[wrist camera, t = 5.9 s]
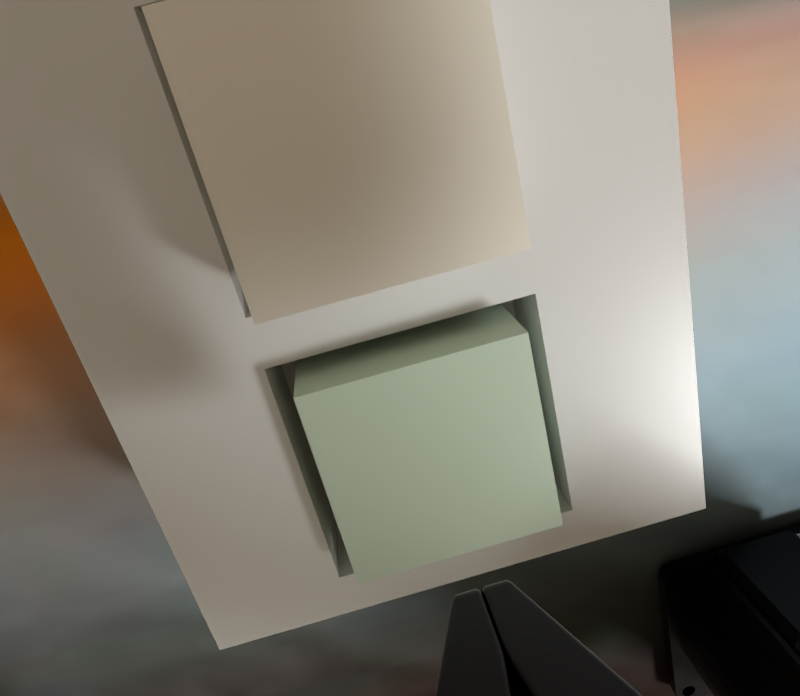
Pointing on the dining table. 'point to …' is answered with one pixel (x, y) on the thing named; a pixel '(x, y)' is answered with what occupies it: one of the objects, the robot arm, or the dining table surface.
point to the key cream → (345, 140)
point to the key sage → (430, 441)
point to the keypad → (357, 298)
